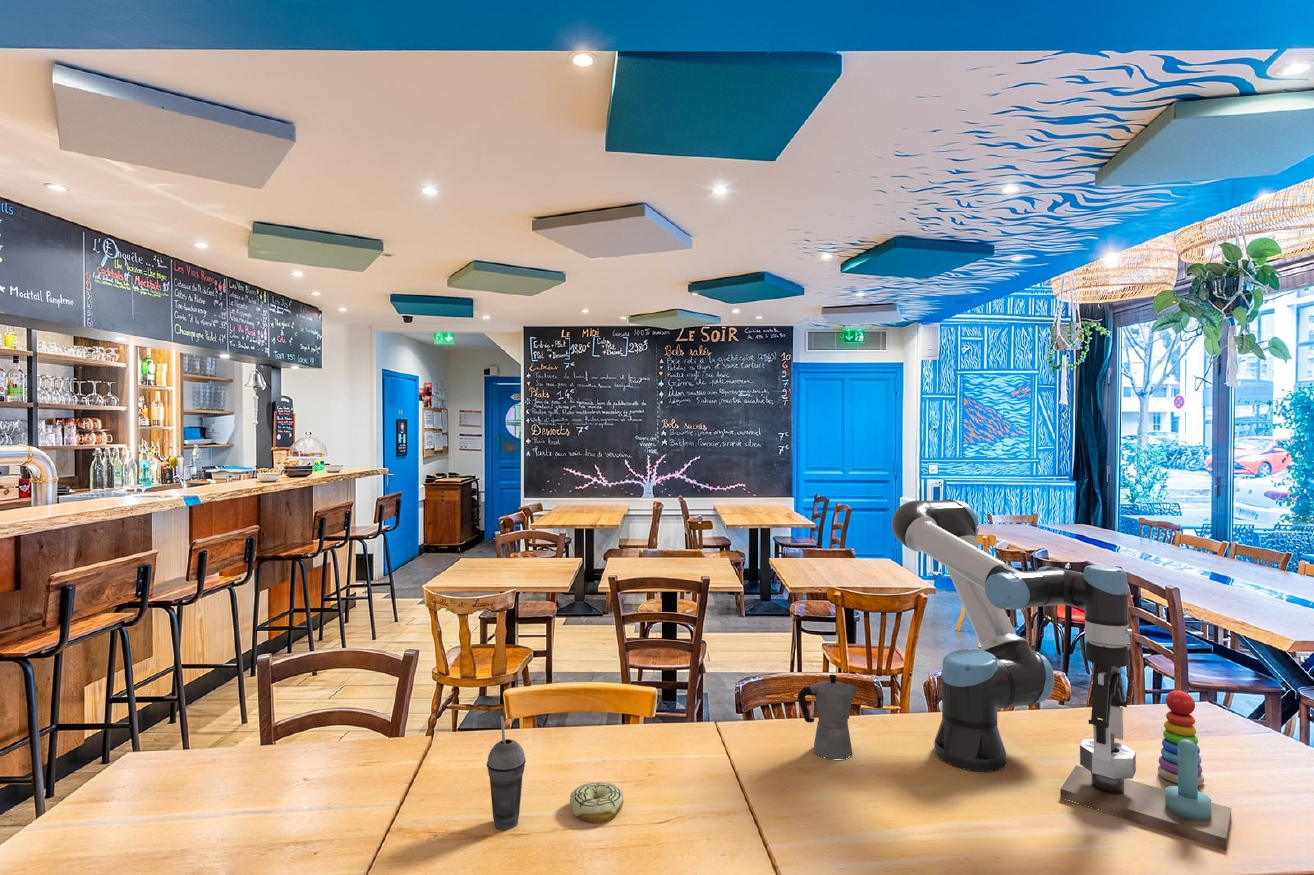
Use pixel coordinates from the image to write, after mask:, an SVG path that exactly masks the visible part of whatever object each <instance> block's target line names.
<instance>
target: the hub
mask: <svg viewBox="0 0 1314 875" xmlns="http://www.w3.org/2000/svg"><path fill="white" fill-rule="evenodd" d="M1198 789H1199V786H1198V753H1197V746H1196V745H1195V743H1193V742H1192V741H1190V740H1187V739H1183V740H1181V741H1179V743H1178V784H1177V785H1172V786H1171V785H1170V786H1166V787H1165V788H1164V790H1165V806H1166V808H1167V809H1168V810H1169V811H1171V812H1172V813H1174V814H1176V815H1178V816H1181V817H1184V818H1187V819H1191V820H1197V821H1207V820H1210V819H1211V818H1212V812H1211V803H1212V799H1211V798H1210V796H1208V795H1206V794H1205V793H1203V792H1201V791H1199V790H1198Z"/></svg>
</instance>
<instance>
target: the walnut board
mask: <svg viewBox="0 0 1314 875" xmlns="http://www.w3.org/2000/svg"><path fill="white" fill-rule="evenodd" d="M1059 791H1060V793H1059V794H1060V798H1062V799H1061V800H1063V799H1066V800H1065V801H1067V800H1070V801H1073V802H1076V803H1079V804H1081V805H1080V806H1083V805H1086V806H1089V807H1092V808H1094V809H1093V810H1096V809H1099V810H1102V811H1103V813H1106V814H1109V815H1112V816H1115V817H1119V818H1122V819H1126V820H1129V821H1132V822H1135V823H1138V824H1141V825H1145V826H1147V827H1151V828H1154V829H1157V830H1161V831H1164V832H1167V833H1171V834H1173V835H1177V836H1181V837H1183V838H1187V839H1190V840H1194V841H1196V842H1199V843H1202V844H1206V845H1210V846H1213V847H1216V848H1219V849H1221V850H1227V848H1228V841H1229V836H1230V828H1231V823H1232V807H1229V806H1225V805H1222V804H1218V803H1214V802H1211V812H1212V818H1211V819H1210V820H1207V821H1197V820H1191V819H1187V818H1184V817H1181V816H1178V815H1176V814H1174V813H1172V812H1171V811H1169V810H1168V809H1167V808H1166V806H1165V788H1160V787H1156V786H1152V785H1151V784H1150V785H1149V784H1146V783H1143V782H1138V781H1134V780H1132V779H1124V793H1123V794H1121V795H1113V794H1107V793H1104V792H1101V791H1099V790H1097V789H1095V788H1094V787H1093V786H1092V784H1091V772H1090V771H1089V770H1088V769H1086V768H1085V767H1083V766H1082V765H1077V764H1075V766H1074V768H1073V769H1072V771H1071V772H1070V774H1069V775H1068V777H1067V778H1066V780H1065V781H1064V782H1063V784H1062V785H1061V787H1060V789H1059ZM1070 801H1069V802H1070ZM1073 802H1072V803H1073ZM1076 803H1075V804H1076ZM1079 804H1078V805H1079ZM1086 806H1085V807H1086ZM1089 807H1088V808H1089ZM1092 808H1091V809H1092ZM1099 810H1098V811H1099ZM1102 811H1101V812H1102Z"/></svg>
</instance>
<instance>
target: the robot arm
mask: <svg viewBox="0 0 1314 875" xmlns="http://www.w3.org/2000/svg"><path fill="white" fill-rule="evenodd" d="M978 518H979V517H978V516H977V514H976V512H975V511H974V509H973V508H972V507H971V506H970V505H969V504H967V503H966V502H964V501H962V500H958V499H955V500H954V499H949V498H947V499H939V500H935V499H933V500H911V501H908V502H905V503H903V504H902V505H900V506H899V507H898V508H897V509H896V511H895V512H894V514H893V516H892V518H891V529H892V532H893V534H894V536H895V538H896V539H897V540H898V542H900V543H901V544H902V545H904V546H905V547H906V548H908V549H909V550H911V551H913V552H915V553H917V552H918V553H920V552H922V553H924V554H925V555H927V556H929V557H930V558H932V559H934V560H935V561H937V562H938V563H940V564H941V565H943V566H944V567H945V568H946V570H947V573H948V574H949V577H950V580H951V581H952V583H953V586H954V588H955V590H956V593H957V595H958V597H959V599H960V602H961V604H962V605H963V606H962V607H963V608H964V610H965V613H966V615H967V617H968V620H969V622H970V623H971V627H972V628H973V631H974V632H975V636H976V638H977V639H978V643H979V645H980V648H979V649H965V648H964V649H958V650H954V651H951V652H949V653H948V654H946V655H945V656H944V657H943V660H942V665H941V666H942V668H941V673H940V676H941V700H942V701H941V703H942V704H941V706H942V707H941V708H942V709H941V712H942V714H941V715H942V716H941V722H940V725H939V727H938V730H937V732H936V736H935V739H934V744H933V746H934V751H935V752H934V754H935V756H936V757H937V756H938V759H940V760H941V759H942V760H941V761H943V762H945V763H946V764H948V763H950V764H949V765H951V764H952V765H951V766H953V767H957V768H959V769H963V768H965V769H964V770H967V769H969V770H968V771H973V770H974V772H995V771H999V769H1000V770H1002V769H1003V768H1005V767H1006V766H1005V765H1007V751H1006V749H1005V745H1004V743H1003V739H1002V737H1001V733H1000V731H999V726H998V710H1001V709H1011V708H1016V707H1023V706H1027V707H1029V706H1033V705H1035V704H1039V703H1043V702H1045V701H1046V700H1048V699H1049V698H1050V697H1051V695H1052V693H1053V690H1054V689H1053V687H1054V686H1055V674H1054V670H1053V668H1052V665H1051V663H1050V661H1049V660H1048V659H1047V657H1046V656H1045V655H1043V654H1041V653H1040V652H1039V651H1035V650H1032V648H1031V646H1030V645H1029V643H1028V640H1027V639H1025V638H1024V637H1022V636H1019V635H1017V633H1016V631H1015V629H1014V626H1013V625H1012V623H1011V620H1010V619H1009V616H1008V615H1007V612H1006V610H1011V611H1012V610H1013V611H1014V610H1021V609H1025V608H1026V609H1029V608H1036V607H1038V608H1039V607H1049V606H1051V607H1053V606H1060V605H1061V606H1062V605H1063V606H1070V607H1074V608H1078V609H1082V610H1084V639H1086V641H1085V647H1084V649H1085V659H1086V660H1087V661H1088V662H1090V663H1091V664H1095V665H1097V669H1096V670H1095V671H1094V673H1093V674H1092V676H1093V688H1092V701H1091V702H1092V704H1091V716H1090V719H1088V725H1091V726H1092V725H1093V726H1092V727H1093V739H1094V758H1098V759H1102V760H1106V761H1111V740H1110V732H1111V733H1113V734H1114V739H1115V740H1116V739H1117V740H1121V741H1124V710H1123V709H1124V708H1128V702H1127V701H1125V699H1126V697H1125V692H1124V687H1123V686H1124V685H1123V678H1122V670H1121V668H1123V667H1127V666H1129V665H1130V664H1131V663H1130V661H1131V660H1130V647H1129V646H1128V644H1129V641H1130V639H1129V638H1130V637H1129V635H1133V630H1132V629H1129V593H1130V589H1129V584H1128V574H1127V572H1126V571H1125V570H1124V569H1122V568H1120V567H1118V566H1112V565H1111V566H1110V565H1109V566H1108V565H1103V564H1102V565H1100V564H1099V565H1098V564H1091V565H1086V566H1085V567H1084V569H1083V572H1081V571H1076V570H1075V571H1074V570H1070V569H1065V568H1061V567H1058V566H1041V567H1039V568H1038V569H1036V570H1030V571H1029V570H1028V571H1026V570H1025V571H1021V570H1018V569H1017V568H1015V567H1013V566H1011V565H1008V564H1007V563H1005V562H1004V561H1002V560H1000V559H998V558H996V557H995V556H993V555H991V554H990V553H987V552H985V551H984V550H981V549H980V548H978V547H976V545H977V542H978V538H977V536H978V534H979V527H978V526H980V525H979V519H978ZM1001 768H1002V769H1001Z"/></svg>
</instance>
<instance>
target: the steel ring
mask: <svg viewBox="0 0 1314 875" xmlns="http://www.w3.org/2000/svg"><path fill="white" fill-rule="evenodd" d="M1114 749H1115V753H1111V761H1106V760H1102V759H1098V758H1094V738H1083V739H1082V741H1081V743H1080V744H1079V764H1080V765H1079V766H1081V767H1085V768H1086V769H1088V770H1089V771H1090V772H1092V773H1095V774H1098V775H1102V776H1105V777H1109V778H1112V779H1128V780H1132V779H1133V778H1134V777H1135V774H1136V772H1137V767H1136V766H1137V765H1136V764H1137V758H1136V757H1137V752H1136V751H1135V750H1133V749H1131V748H1130V747H1127V746H1126V745H1125V744H1123V743H1119V742H1116V741H1114Z"/></svg>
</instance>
